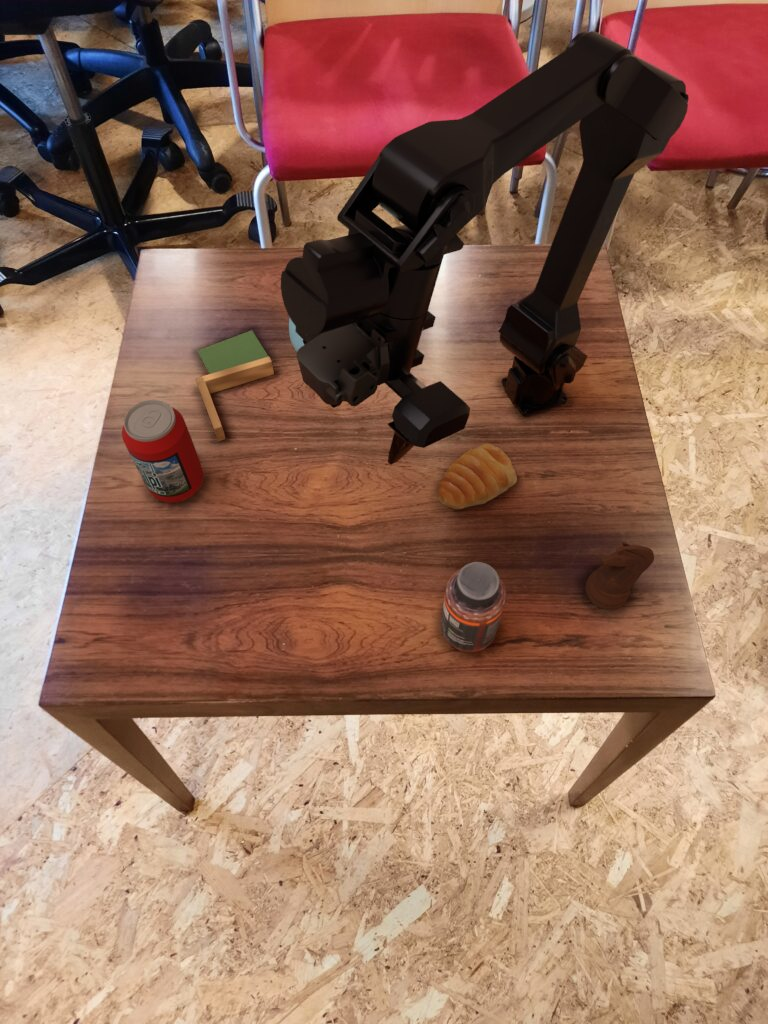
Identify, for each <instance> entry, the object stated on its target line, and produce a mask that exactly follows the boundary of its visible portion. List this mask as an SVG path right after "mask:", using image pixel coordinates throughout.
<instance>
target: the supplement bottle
mask: <svg viewBox="0 0 768 1024" xmlns="http://www.w3.org/2000/svg"><path fill="white" fill-rule="evenodd" d="M506 601H507V591H506V587H505V584H504V582H503V581H502V579H501V578H500V576H499V574H498V572H497V571H496V570H495V568H494V567H493V566H491V565H489V564H488V563H485V562H482V561H473V562H469V563H467V564H465V565H463V567H462V568H460V569H458V570H456V571H455V572H454V573H453V574H452V575H451V576H450V578H449V579H448V581H447V583H446V586H445V589H444V597H443V604H442V612H441V617H440V628H441V633H442V636H443V638H444V639H445V641H446V642H447V643H448V644H449V645H450V646H451V647H452V648H453V649H456V650H458V651H460V652H464V653H476V652H479V651H482V650H485V649H486V648H487V647H489V646H490V645H491V644H492V642H493V641H494V640H495V637H496V635H497V632H498V629H499V626H500V622H501V619H502V616H503V612H504V609H505V605H506Z"/></svg>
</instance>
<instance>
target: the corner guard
mask: <svg viewBox="0 0 768 1024" xmlns="http://www.w3.org/2000/svg"><path fill="white" fill-rule="evenodd" d="M274 375H275V372H274V366H273V361H272V359H271V357H270V356H269V357H266V358H262V359H259V360H255V361H252V362H249V363H245V364H242V365H239V366H235V367H232V368H229V369H225V370H222V371H219V372H215V373H212V374H209V373H208V374H205V375H201V376H199V377H196V378H195V381H196V384H197V387H198V390H199V393H200V396H201V399H202V401H203V405H204V407H205V409H206V412H207V415H208V418H209V421H210V423H211V426H212V428H213V432H214V434H215V437H216V439H217V442H221V441H224V440H226V439H227V438H226V434H225V431H224V428H223V424H222V422H221V420H220V417H219V414H218V412H217V409H216V406H215V404H214V402H213V399H212V395H211V394H215V393H217V392H221V391H224V390H227V389H230V388H234V387H237V386H240V385H244V384H248V383H250V382H253V381H256V380H260V379H264V378H267V377H270V376H274Z"/></svg>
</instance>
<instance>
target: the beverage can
mask: <svg viewBox="0 0 768 1024" xmlns="http://www.w3.org/2000/svg"><path fill="white" fill-rule="evenodd" d="M121 438H122V441H123V443H124V445H125V447H126V449H127V451H128V454H129V455H130V457H131V461H133V463H134V465H135V467H136V469H137V471H138V473H139V475H140V477H141V479H142V480H143V483H144V485H145V487H146V488H147V490H148V492H149V494H150V495H151V496H152V497H154V499H157V500H158V501H160V502H165V503H179V502H182V501H184V500H187V499H190V498H191V497H192V496H193V495H195V494H196V493H197V492H198V491H199V490H200V488H201V486H202V484H203V482H204V470H203V467H202V464H201V461H200V458H199V455H198V451H197V450H196V447H195V443H194V442H193V439H192V436H191V433H190V430H189V428H188V426H187V423H186V421H185V419H184V417H183V414H182V413H181V412H180V411H179V410H177V409H176V408H175V407H172V406H171V405H170V404H169V403H167V402H166V401H164V400H161V399H146V400H143V401H140V402H138V403H136V404H135V405H133V406H131V408H129V409H128V411H127V413H125V416H124V418H123V425H122V429H121Z"/></svg>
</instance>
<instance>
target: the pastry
mask: <svg viewBox="0 0 768 1024" xmlns="http://www.w3.org/2000/svg"><path fill="white" fill-rule="evenodd" d="M517 481H518V476H517V473H516V469H515V468H514V467H513V463H512V461H511V458H510V457H508V455H507V454H506V452H504V451H503V450H502V449H501V448H500V447H497V446H496V445H494V444H493V443H482V445H480V446H477V447H474V448H472V449H469V450H467V451H466V452H464V453H463V454H462V455H461V456H460V457H458V458H457V459H456V460H454V462H453V463H452V464H451V465H450V466H449V468H448V469H447V470H446V472H445V475H444V476H443V478H442V479H441V480H440V481H439V482H438V492H437V499H438V501H439V502H440V503H441V504H442V505H444V506H445V507H448V508H449V509H450V508H451V509H454V510H463V509H465V508H469V507H475V506H480V505H485V504H486V503H487V502H490V501H491V500H493V499H495V498H497V497H498V496H499V495H501V494H503V493H504V492H507V491H508V490H509V488H511V487H513V486H514V485H515V484H516V483H517Z"/></svg>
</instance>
